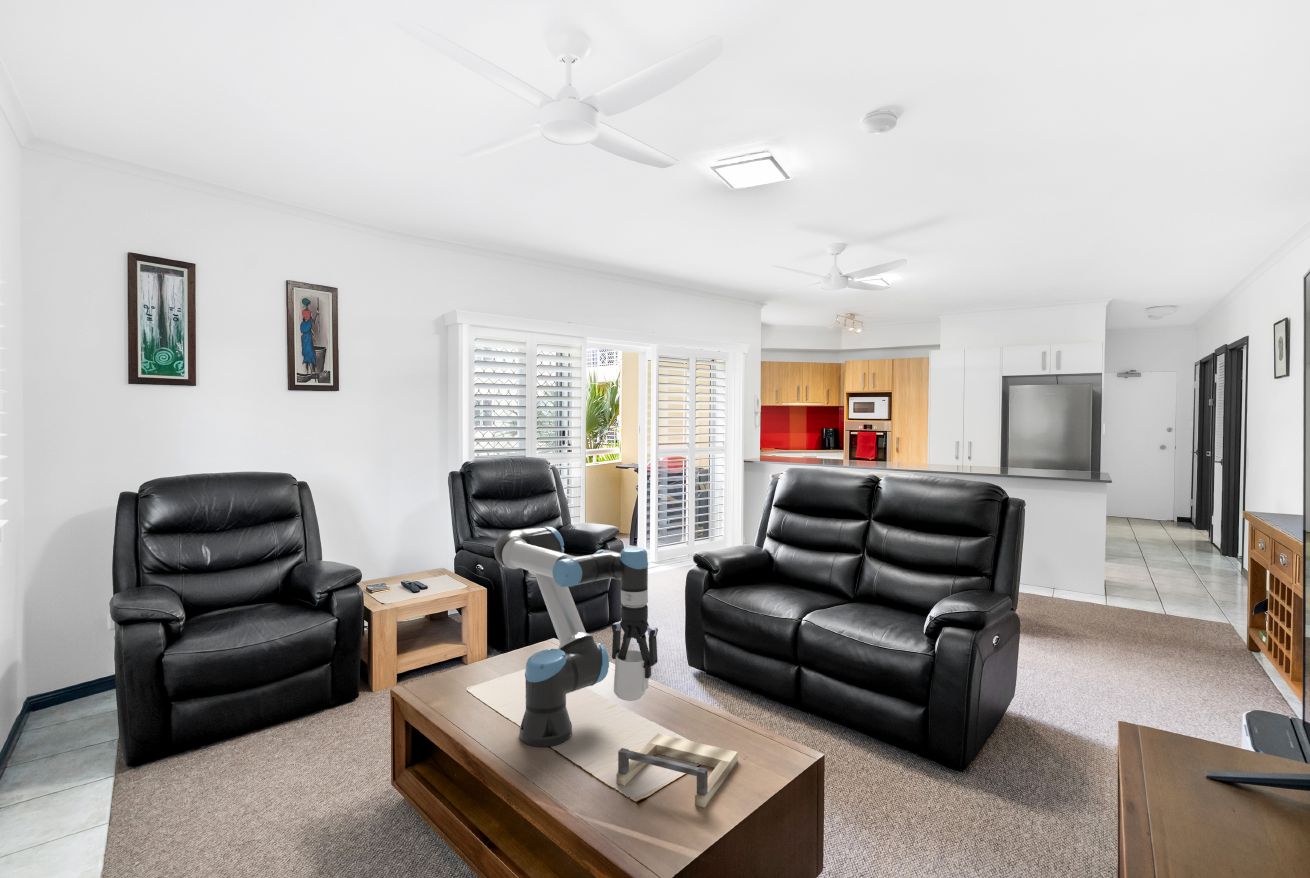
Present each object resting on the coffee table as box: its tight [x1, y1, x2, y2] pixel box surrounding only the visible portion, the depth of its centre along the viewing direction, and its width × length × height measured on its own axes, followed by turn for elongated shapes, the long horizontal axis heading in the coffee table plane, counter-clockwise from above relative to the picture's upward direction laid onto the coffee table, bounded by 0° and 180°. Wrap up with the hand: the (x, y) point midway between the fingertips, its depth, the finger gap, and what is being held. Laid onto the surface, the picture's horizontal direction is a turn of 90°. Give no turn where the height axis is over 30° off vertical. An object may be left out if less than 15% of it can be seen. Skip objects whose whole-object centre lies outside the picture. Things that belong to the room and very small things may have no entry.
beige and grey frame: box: [615, 733, 739, 809], centre depth 169 cm, size 24×24×8 cm
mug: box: [613, 649, 654, 702], centre depth 181 cm, size 12×9×11 cm
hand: (634, 686), depth 180 cm, fingers closed on mug, 6 cm apart
